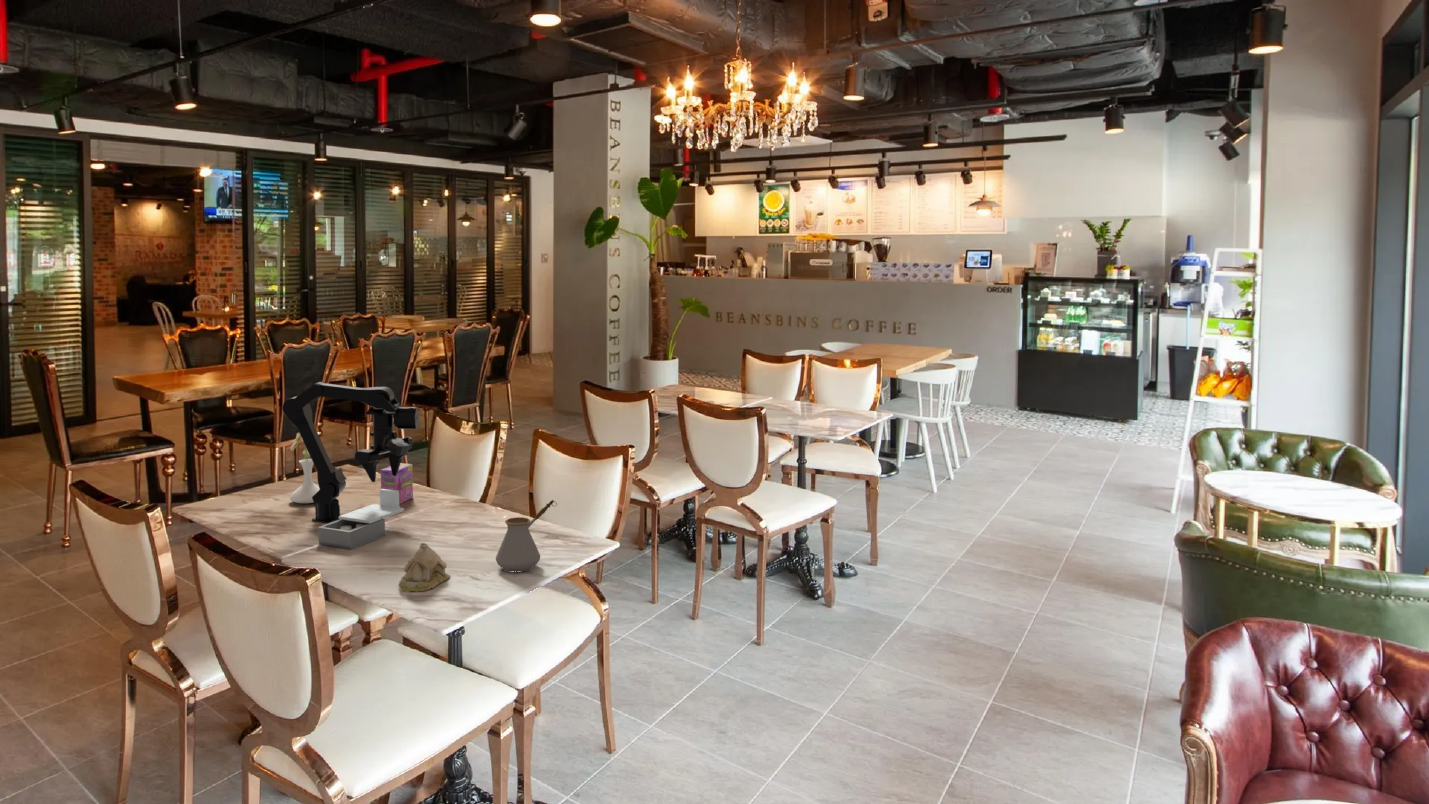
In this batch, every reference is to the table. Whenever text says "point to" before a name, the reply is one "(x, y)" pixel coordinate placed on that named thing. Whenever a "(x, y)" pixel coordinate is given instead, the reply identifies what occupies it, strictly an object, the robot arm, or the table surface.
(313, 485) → the flower in vase
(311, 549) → the table surface
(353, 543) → the tub
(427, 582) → the ceramic model
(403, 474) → the box
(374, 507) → the lid
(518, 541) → the coffee pot
